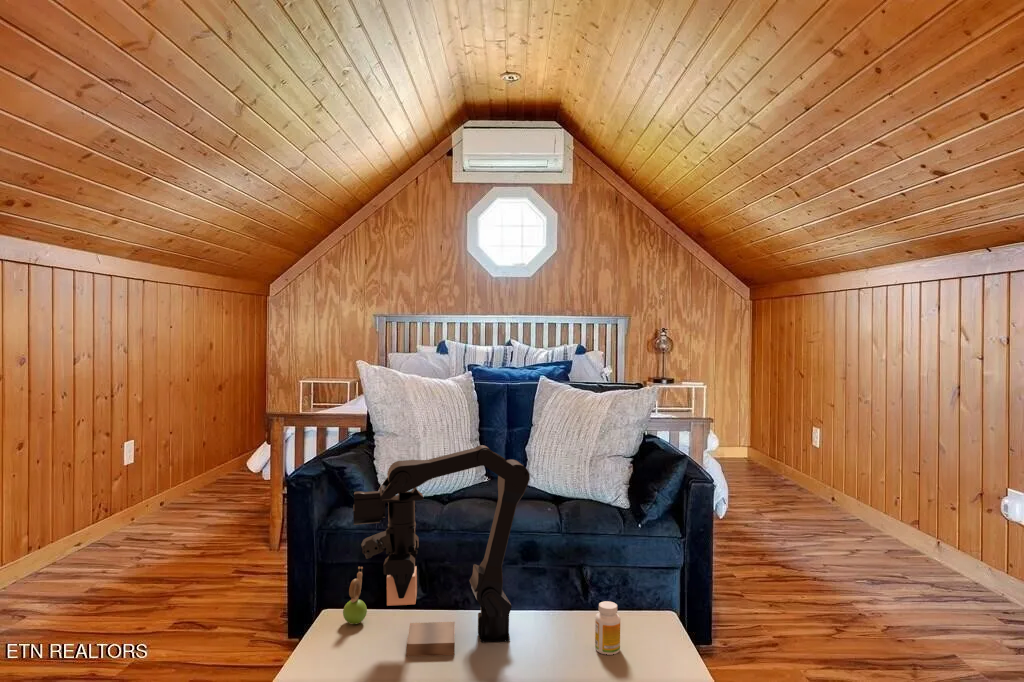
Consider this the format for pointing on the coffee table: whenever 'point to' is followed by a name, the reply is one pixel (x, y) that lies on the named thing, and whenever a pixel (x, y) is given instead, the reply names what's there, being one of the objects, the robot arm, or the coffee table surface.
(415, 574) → the terracotta cube
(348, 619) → the snail figurine
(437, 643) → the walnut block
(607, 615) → the supplement bottle
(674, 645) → the coffee table surface
